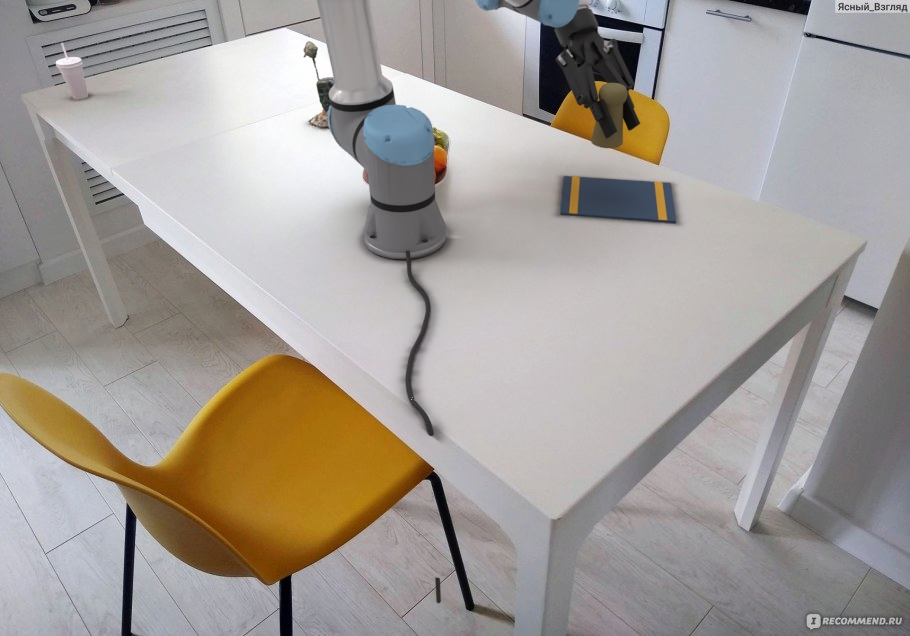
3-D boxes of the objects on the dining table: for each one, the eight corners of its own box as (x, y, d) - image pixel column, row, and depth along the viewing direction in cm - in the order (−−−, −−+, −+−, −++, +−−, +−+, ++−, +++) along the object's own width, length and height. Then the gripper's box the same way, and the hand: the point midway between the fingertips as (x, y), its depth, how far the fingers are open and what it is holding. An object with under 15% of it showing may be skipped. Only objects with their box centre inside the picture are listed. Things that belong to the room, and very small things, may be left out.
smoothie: (89, 90, 196) (71, 38, 187) (96, 97, 192) (79, 44, 184) (64, 96, 193) (45, 43, 184) (72, 103, 189) (53, 49, 180)
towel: (675, 223, 136) (676, 220, 136) (560, 214, 139) (560, 212, 139) (670, 184, 149) (670, 182, 148) (564, 177, 152) (564, 175, 151)
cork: (622, 149, 134) (630, 91, 127) (590, 147, 135) (596, 89, 128) (623, 136, 139) (631, 80, 132) (591, 134, 140) (597, 78, 133)
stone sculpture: (334, 134, 171) (324, 49, 158) (304, 123, 177) (292, 40, 164) (359, 124, 176) (351, 41, 163) (329, 113, 181) (319, 31, 169)
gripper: (596, 21, 140) (645, 128, 140) (524, 38, 132) (575, 151, 132) (619, -2, 133) (670, 110, 133) (544, 14, 126) (598, 134, 125)
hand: (623, 130), depth 132 cm, fingers closed on cork, 5 cm apart
